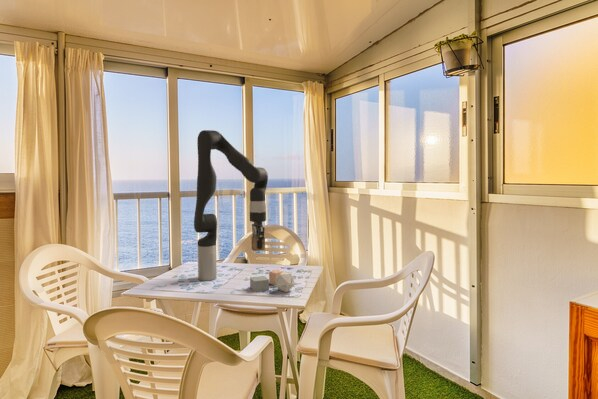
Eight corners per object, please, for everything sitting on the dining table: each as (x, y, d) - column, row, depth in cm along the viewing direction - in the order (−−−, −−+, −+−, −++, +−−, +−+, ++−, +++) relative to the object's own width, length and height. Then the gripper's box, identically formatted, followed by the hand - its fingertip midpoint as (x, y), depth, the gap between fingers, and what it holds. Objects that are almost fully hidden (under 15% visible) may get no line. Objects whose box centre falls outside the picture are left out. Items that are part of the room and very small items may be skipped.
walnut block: (251, 249, 172) (251, 236, 171) (262, 248, 173) (261, 235, 173) (254, 251, 167) (254, 237, 167) (264, 250, 169) (264, 237, 168)
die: (276, 295, 164) (290, 278, 162) (267, 282, 170) (280, 265, 168) (289, 298, 170) (302, 281, 168) (279, 284, 176) (292, 268, 174)
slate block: (250, 287, 174) (250, 277, 173) (264, 286, 176) (264, 275, 176) (254, 292, 167) (254, 281, 167) (269, 290, 170) (268, 279, 170)
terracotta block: (269, 283, 180) (269, 271, 180) (277, 281, 184) (277, 269, 183) (275, 285, 177) (275, 273, 176) (283, 283, 180) (283, 271, 180)
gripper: (246, 210, 174) (246, 245, 175) (253, 212, 161) (254, 251, 162) (261, 209, 177) (262, 244, 178) (270, 211, 164) (270, 249, 165)
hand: (258, 247), depth 170 cm, fingers closed on walnut block, 5 cm apart
